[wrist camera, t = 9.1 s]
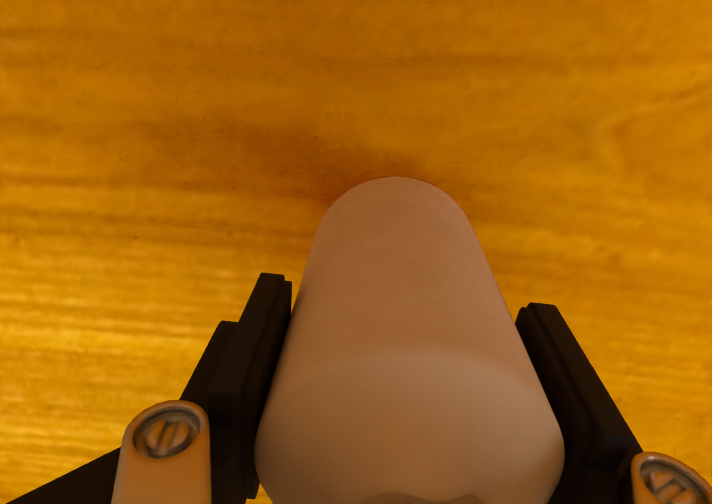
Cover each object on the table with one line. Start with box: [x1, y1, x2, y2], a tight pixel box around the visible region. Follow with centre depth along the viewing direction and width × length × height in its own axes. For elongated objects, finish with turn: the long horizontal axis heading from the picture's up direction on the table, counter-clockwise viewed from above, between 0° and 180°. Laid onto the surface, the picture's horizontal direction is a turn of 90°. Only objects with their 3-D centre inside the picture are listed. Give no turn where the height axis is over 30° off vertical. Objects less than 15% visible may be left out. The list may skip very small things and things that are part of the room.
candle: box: [254, 177, 565, 504], centre depth 11 cm, size 6×6×10 cm
